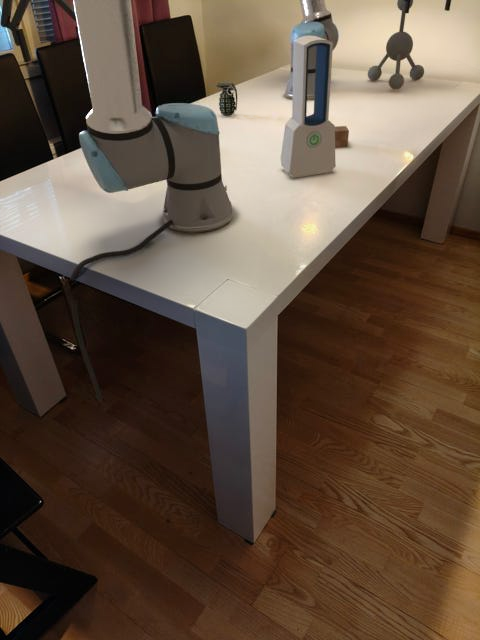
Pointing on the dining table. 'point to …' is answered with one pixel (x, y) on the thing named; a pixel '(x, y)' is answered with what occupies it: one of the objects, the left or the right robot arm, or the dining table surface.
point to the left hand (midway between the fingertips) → (56, 59)
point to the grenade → (227, 99)
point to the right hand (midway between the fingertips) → (426, 11)
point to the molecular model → (398, 54)
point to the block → (341, 136)
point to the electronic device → (315, 130)
